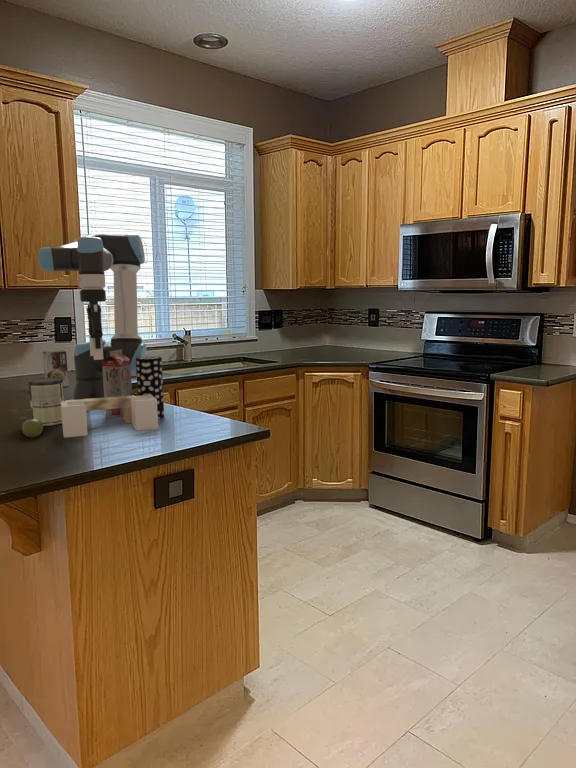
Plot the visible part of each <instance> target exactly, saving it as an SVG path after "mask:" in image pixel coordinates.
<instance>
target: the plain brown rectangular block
mask: <svg viewBox="0 0 576 768" xmlns="http://www.w3.org/2000/svg"><path fill="white" fill-rule="evenodd" d="M123 412H124V416H123V421H124V422H125V423H126V424H132V413H131V407H126V408H123Z"/></svg>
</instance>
